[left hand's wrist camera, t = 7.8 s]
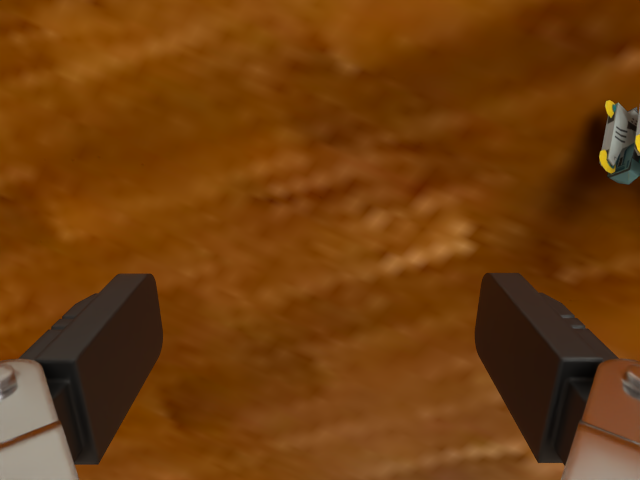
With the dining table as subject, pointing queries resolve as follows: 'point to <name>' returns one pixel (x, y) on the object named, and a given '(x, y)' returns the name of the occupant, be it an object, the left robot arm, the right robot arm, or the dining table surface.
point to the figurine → (621, 144)
